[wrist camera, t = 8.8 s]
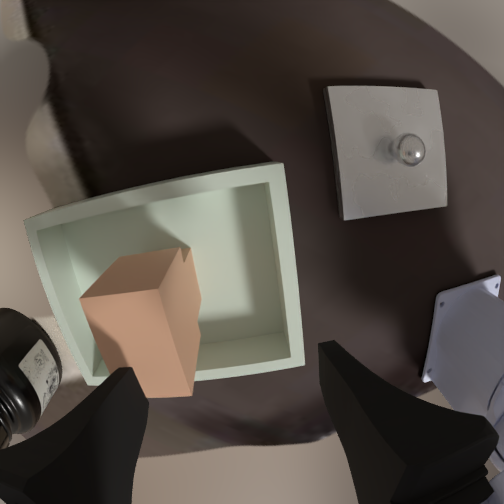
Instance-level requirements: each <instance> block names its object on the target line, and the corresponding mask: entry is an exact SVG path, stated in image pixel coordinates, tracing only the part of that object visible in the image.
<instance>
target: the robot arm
mask: <svg viewBox="0 0 504 504" xmlns="http://www.w3.org/2000/svg"><path fill="white" fill-rule="evenodd" d="M500 281H501V277H500V276H499V275H498V274H496V275H493V276H490V277H487V278H484V279H481V280H478V281H475V282H472V283H469V284H465V285H462V286H459V287H456V288H452V289H449V290H445V291H442V292H440V293H439V294H438V295H437V296H436V301H435V309H434V316H433V323H432V329H431V335H430V341H429V346H428V351H427V356H426V361H425V366H424V370H423V375H422V380H423V382H428V381H431V380H432V381H433V382H434V384H435V385H436V386H437V388H438V389H439V390H440V392H441V393H442V394H443V396H444V397H445V398H446V400H447V401H448V402H449V404H450V405H451V407H452V408H453V409H454V410H451V409H447V408H444V407H441V406H438V405H435V404H431V403H429V402H426V401H424V400H421V399H419V398H416V397H414V396H412V395H410V394H408V393H406V392H404V391H402V390H400V389H398V388H396V387H395V386H393V385H391V384H390V383H388V382H386V381H385V380H383V379H382V378H380V377H379V376H377V375H376V374H375V373H373V372H372V371H370V370H369V369H368V368H367V367H365V366H364V365H363V364H361V363H360V362H359V361H358V360H356V359H355V358H354V357H353V356H352V355H351V354H349V353H348V352H347V351H346V350H345V349H344V348H343V347H342V346H340V345H339V344H338V343H337V342H336V341H334V340H332V341H327V342H323V343H318V353H319V378H320V386H321V390H322V394H323V397H324V401H325V405H326V407H327V410H328V412H329V414H330V417H331V419H332V422H333V424H334V426H335V429H336V431H337V434H338V436H339V438H340V441H341V443H342V446H343V448H344V451H345V453H346V456H347V460H348V463H349V467H350V471H351V474H352V478H353V482H354V486H355V490H356V494H357V499H358V503H359V504H504V301H502V300H501V299H500V298H498V292H499V287H500ZM441 302H442V303H441ZM440 303H441V305H440ZM148 408H149V402H148V400H147V398H146V396H145V394H144V392H143V390H142V388H141V385H140V383H139V381H138V379H137V377H136V375H135V372H134V370H133V368H132V367H119V368H118V369H116V370H115V371H114V372H113V373H112V374H111V375H110V376H108V377H107V378H106V379H105V380H104V381H103V382H102V383H101V384H100V385H99V386H98V387H97V388H96V389H95V390H94V391H93V392H92V393H91V394H90V395H89V396H87V397H86V398H85V399H84V400H83V401H82V402H81V403H80V404H78V405H77V406H76V407H75V408H74V409H73V410H72V411H70V412H69V413H68V414H67V415H65V416H64V417H63V418H61V419H60V420H59V421H57V422H56V423H54V424H53V425H51V426H50V427H48V428H47V429H45V430H43V431H41V432H40V433H38V434H36V435H35V436H33V437H31V438H29V439H27V440H25V441H22V442H20V443H18V444H15V445H13V446H10V447H7V448H4V449H1V450H0V498H1V499H2V500H3V501H4V502H5V503H6V504H131V503H132V488H133V478H134V472H135V467H136V463H137V459H138V455H139V451H140V448H141V444H142V440H143V436H144V432H145V428H146V424H147V417H148ZM488 458H490V460H491V462H492V463H493V465H494V466H495V467H496V468H497V469H498V470H499V471H500V473H499V474H498V475H496V476H495V477H494V478H492V479H491V480H490V481H489V482H488V480H487V479H486V477H485V476H486V475H487V474H488V470H487V469H486V467H485V465H484V464H485V463H486V461H487V460H488Z"/></svg>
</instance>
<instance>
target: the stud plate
mask: <svg viewBox="0 0 504 504" xmlns="http://www.w3.org/2000/svg"><path fill="white" fill-rule="evenodd" d="M323 94H324V100H325V106H326V113H327V119H328V126H329V133H330V140H331V148H332V155H333V164H334V173H335V182H336V192H337V202H338V214H339V218H341V219H342V220H344V221H345V220H351V219H358V218H365V217H372V216H379V215H386V214H393V213H400V212H407V211H415V210H422V209H429V208H437V207H444V206H447V178H446V160H445V147H444V137H443V128H442V119H441V112H440V105H439V99H438V93H437V90H431V89H420V88H407V87H388V86H327V87H326V88H324V89H323Z"/></svg>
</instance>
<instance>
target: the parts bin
mask: <svg viewBox="0 0 504 504" xmlns="http://www.w3.org/2000/svg"><path fill="white" fill-rule="evenodd" d="M24 224H25V228H26V232H27V236H28V239H29V243H30V246H31V250H32V253H33V256H34V260H35V263H36V266H37V269H38V272H39V275H40V278H41V281H42V284H43V287H44V290H45V292H46V295H47V298H48V300H49V303H50V305H51V308H52V311H53V313H54V316H55V318H56V320H57V323H58V325H59V327H60V330H61V332H62V334H63V336H64V339H65V341H66V343H67V345H68V347H69V349H70V352H71V354H72V356H73V358H74V360H75V362H76V364H77V366H78V368H79V370H80V372H81V373H82V375H83V377H84V379H85V381H86V383H87V385H100V384H101V383H102V382H103V381H104V380H105V379H106V378H107V377H108V376H110V373H109V371H108V369H107V367H106V364H105V362H104V360H103V358H102V356H101V353H100V351H99V349H98V346H97V344H96V342H95V339H94V337H93V334H92V332H91V329H90V327H89V324H88V322H87V319H86V317H85V314H84V311H83V309H82V306H81V303H80V300H79V298H80V297H81V296H82V295H83V294H84V293H85V291H86V290H87V289H88V288H89V287H90V286H91V285H92V284H93V283H94V282H95V281H96V280H97V279H98V278H99V277H100V276H101V275H102V274H103V273H104V272H105V271H106V270H107V269H108V268H109V267H110V266H111V265H112V264H113V263H114V262H115V261H116V260H117V259H118V258H119V257H121V256H127V255H133V254H140V253H146V252H152V251H158V250H164V249H171V248H177V247H180V248H181V249H185V248H191V251H192V256H193V261H194V266H195V270H196V275H197V280H198V284H199V289H200V293H201V298H202V300H201V305H200V310H199V315H198V321H197V322H198V326H199V329H200V333H201V337H200V344H199V350H198V357H197V364H196V371H195V378H194V381H200V380H210V379H219V378H227V377H235V376H242V375H249V374H256V373H263V372H269V371H275V370H281V369H286V368H292V367H297V366H302V365H305V359H304V346H303V334H302V322H301V311H300V300H299V290H298V280H297V270H296V261H295V252H294V243H293V234H292V226H291V217H290V209H289V201H288V194H287V186H286V179H285V171H284V164H283V163H280V162H266V163H259V164H253V165H246V166H239V167H233V168H227V169H221V170H215V171H210V172H204V173H199V174H193V175H188V176H183V177H178V178H173V179H168V180H164V181H159V182H154V183H150V184H145V185H141V186H136V187H132V188H128V189H124V190H120V191H116V192H111V193H108V194H104V195H100V196H96V197H92V198H88V199H85V200H81V201H77V202H74V203H70V204H67V205H63V206H60V207H57V208H53V209H51V210H48V211H46V212H43V213H41V214H38V215H35V216H33V217H30V218H28V219H26V220H24Z"/></svg>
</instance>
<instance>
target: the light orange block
mask: <svg viewBox="0 0 504 504" xmlns="http://www.w3.org/2000/svg"><path fill="white" fill-rule="evenodd" d="M79 300H80V303H81V306H82V309H83V311H84V314H85V317H86V319H87V322H88V324H89V327H90V329H91V332H92V334H93V337H94V339H95V342H96V344H97V346H98V349H99V351H100V353H101V356H102V358H103V360H104V362H105V364H106V367H107V369H108V371H109V373H110V375H111V374H112V373H113V372H114V371H115V370H116V369H118V368H119V367H132V368H133V370H134V372H135V375H136V377H137V379H138V381H139V383H140V385H141V388H142V390H143V392H144V394H145V396H146V398H161V397H182V396H192V393H193V385H194V378H195V371H196V364H197V357H198V350H199V344H200V337H201V333H200V329H199V326H198V322H197V321H198V315H199V310H200V305H201V300H202V298H201V293H200V289H199V284H198V280H197V275H196V270H195V266H194V261H193V256H192V251H191V248H185V249H181V248H180V247H177V248H171V249H164V250H158V251H152V252H146V253H140V254H133V255H127V256H121V257H119V258H118V259H117V260H116V261H115V262H114V263H113V264H112V265H111V266H110V267H109V268H108V269H107V270H106V271H105V272H104V273H103V274H102V275H101V276H100V277H99V278H98V279H97V280H96V281H95V282H94V283H93V284H92V285H91V286H90V287H89V288H88V289H87V290H86V291H85V293H84V294H83V295H82V296H81V297H80V298H79Z"/></svg>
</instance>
